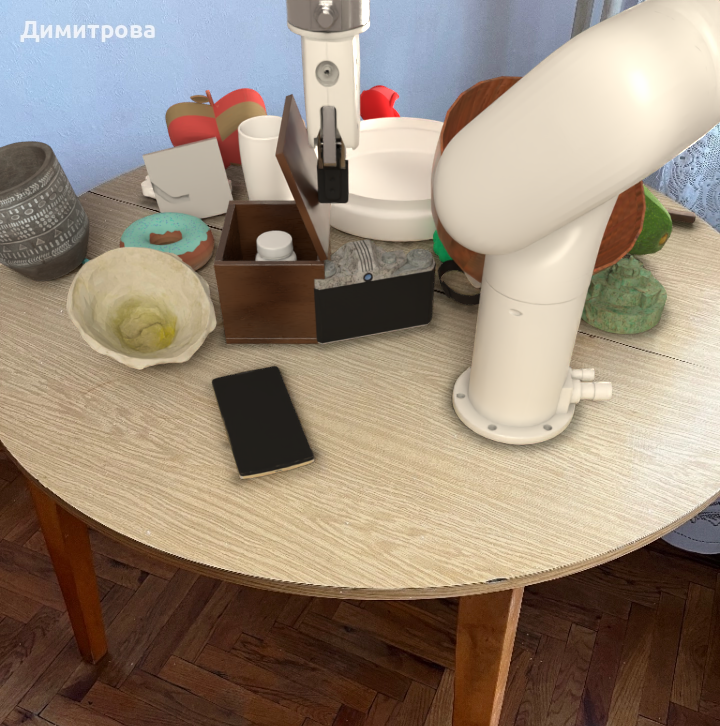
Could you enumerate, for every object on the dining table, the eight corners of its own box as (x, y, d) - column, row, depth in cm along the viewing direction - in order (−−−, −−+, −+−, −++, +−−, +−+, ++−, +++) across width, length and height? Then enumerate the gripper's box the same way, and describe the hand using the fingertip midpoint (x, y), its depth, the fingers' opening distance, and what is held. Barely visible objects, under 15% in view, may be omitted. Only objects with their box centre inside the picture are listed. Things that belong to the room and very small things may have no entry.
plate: (267, 205, 110) (263, 167, 106) (374, 135, 124) (374, 100, 120) (431, 264, 99) (433, 225, 95) (526, 180, 114) (532, 143, 110)
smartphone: (239, 476, 73) (210, 377, 83) (241, 484, 74) (211, 385, 83) (315, 458, 74) (277, 363, 84) (316, 466, 75) (278, 371, 85)
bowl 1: (113, 413, 81) (87, 335, 73) (70, 343, 89) (43, 266, 81) (242, 364, 86) (231, 286, 79) (191, 302, 94) (176, 226, 87)
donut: (192, 225, 106) (187, 197, 103) (232, 265, 99) (228, 237, 96) (109, 252, 102) (101, 223, 99) (145, 295, 95) (137, 267, 92)
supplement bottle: (294, 317, 91) (288, 253, 84) (255, 312, 91) (247, 248, 85) (304, 294, 94) (300, 230, 88) (266, 289, 94) (259, 226, 88)
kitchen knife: (697, 211, 106) (696, 217, 104) (695, 218, 106) (693, 224, 105) (564, 190, 111) (561, 195, 109) (563, 197, 111) (560, 202, 110)
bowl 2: (360, 220, 89) (394, 154, 78) (476, 111, 99) (519, 39, 89) (522, 366, 90) (577, 318, 79) (621, 242, 100) (680, 186, 90)
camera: (417, 292, 95) (421, 217, 87) (436, 324, 90) (442, 247, 83) (299, 313, 92) (293, 237, 85) (313, 347, 88) (308, 270, 80)
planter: (-7, 274, 100) (-67, 184, 90) (66, 222, 105) (17, 132, 95) (44, 302, 94) (-15, 209, 84) (120, 246, 98) (73, 152, 89)
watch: (495, 302, 93) (499, 275, 91) (463, 314, 92) (466, 287, 89) (458, 271, 98) (460, 245, 95) (427, 282, 96) (428, 256, 94)
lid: (274, 155, 72) (282, 152, 72) (285, 96, 82) (292, 93, 81) (320, 261, 81) (327, 259, 80) (325, 197, 90) (332, 195, 90)
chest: (226, 344, 89) (213, 264, 81) (239, 277, 98) (229, 200, 90) (328, 344, 88) (324, 264, 81) (332, 277, 98) (328, 200, 90)
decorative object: (189, 184, 115) (161, 129, 100) (184, 161, 115) (155, 102, 100) (279, 163, 115) (264, 105, 100) (273, 140, 115) (258, 78, 100)
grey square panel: (236, 226, 108) (234, 220, 111) (235, 139, 103) (233, 136, 106) (146, 224, 106) (147, 218, 109) (141, 134, 100) (141, 131, 103)
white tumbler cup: (294, 223, 107) (285, 111, 95) (307, 248, 102) (300, 134, 91) (246, 231, 105) (231, 119, 94) (257, 257, 101) (243, 142, 90)
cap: (359, 111, 129) (350, 131, 126) (363, 76, 124) (353, 96, 121) (405, 123, 129) (397, 143, 126) (411, 88, 124) (403, 108, 121)
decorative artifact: (569, 284, 96) (581, 333, 89) (580, 232, 91) (594, 280, 84) (651, 285, 96) (669, 335, 89) (667, 234, 91) (687, 282, 84)
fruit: (700, 197, 96) (671, 236, 91) (655, 256, 104) (626, 294, 99) (599, 131, 98) (564, 165, 93) (563, 194, 106) (530, 228, 101)
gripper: (369, 37, 64) (368, 237, 78) (370, -20, 74) (369, 166, 88) (279, 36, 64) (293, 236, 78) (292, -20, 74) (303, 166, 88)
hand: (333, 199), depth 83 cm, fingers closed
